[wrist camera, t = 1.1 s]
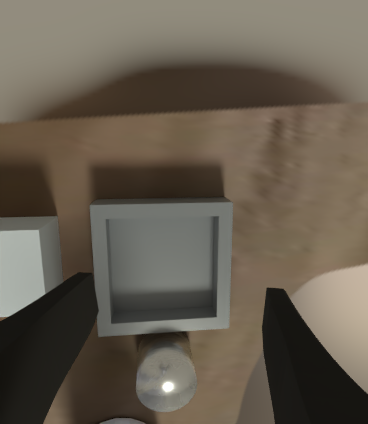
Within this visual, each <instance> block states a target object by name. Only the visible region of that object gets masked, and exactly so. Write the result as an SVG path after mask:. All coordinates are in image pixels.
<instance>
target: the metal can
mask: <svg viewBox="0 0 368 424" xmlns="http://www.w3.org/2000/svg"><path fill="white" fill-rule="evenodd" d="M196 388H197V378H196V373H195V368H194V364H193V359H192V354H191V349H190V344H189V341H188V339H187V337H186V335H185V334H184V333H183V332H182V331H179V332H164V333H149V334H145V335H144V336H143V338H142V339H141V341H140V343H139V347H138V360H137V377H136V393H137V396H138V398H139V400H140V401H141V402H142V404H143V405H145V406H146V407H147V408H149V409H151V410H154V411H158V412H169V411H174V410H177V409H179V408H181V407H183V406H184V405H186V404H187V403H188V402H189V401H190V400H191V399H192V397H193V396H194V394H195V392H196Z"/></svg>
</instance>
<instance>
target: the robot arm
mask: <svg viewBox="0 0 368 424" xmlns="http://www.w3.org/2000/svg"><path fill="white" fill-rule="evenodd" d="M98 312H99V308H98V303H97V297H96V292H95V286H94V280H93V275H92V273H82V272H79V273H77V274H75V275H73V276H72V277H70V278H69V279H67V280H66V281H64V282H63V283H61V284H60V285H58V286H57V287H55V288H54V289H52V290H51V291H49V292H48V293H46V294H45V295H43V296H42V297H40V298H38V299H37V300H35V301H34V302H32V303H31V304H29V305H27V306H26V307H24V308H22V309H21V310H19V311H17V312H16V313H14V314H12V315H11V316H9V317H7V318H5V319H4V320H2V321H0V424H43V422H44V420H45V418H46V416H47V413H48V411H49V409H50V407H51V404H52V402H53V400H54V398H55V395H56V393H57V391H58V390H59V388H60V386H61V384H62V382H63V380H64V378H65V377H66V375H67V373H68V371H69V370H70V368H71V366H72V364H73V363H74V361H75V359H76V357H77V356H78V354H79V352H80V350H81V348H82V347H83V345H84V343H85V341H86V339H87V338H88V336H89V334H90V332H91V329H92V327H93V325H94V322H95V320H96V317H97V315H98ZM262 333H263V351H264V358H265V364H266V370H267V376H268V382H269V388H270V394H271V400H272V406H273V412H274V419H275V424H368V394H367V393H366V392H364V390H363V389H362V388H361V387H360V386H358V385H357V383H356V382H354V380H353V379H352V378H350V376H349V375H348V374H347V373H346V372H345V371H344V370H343V369H342V368H341V367H340V366H339V364H338V363H337V362H336V361H335V360H334V359H333V358H332V356H331V355H330V354H329V353H328V352H327V350H326V349H325V348H324V347H323V345H322V344H321V343H320V342H319V340H318V339H317V338H316V337H315V335H314V334H313V333H312V331H311V330H310V328H309V327H308V326H307V324H306V323H305V322H304V320H303V319H302V318H301V316H300V314H299V313H298V311H297V310H296V308H295V306H294V305H293V303H292V302H291V300H290V298H289V297H288V295H287V293H286V291H285V290H284V289H279V288H267V290H266V299H265V307H264V316H263V325H262Z"/></svg>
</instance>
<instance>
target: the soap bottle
mask: <svg viewBox="0 0 368 424" xmlns="http://www.w3.org/2000/svg"><path fill="white" fill-rule="evenodd" d="M100 424H145V423H144V422H141V421H138V420H135V419H132V418H114V419H111V420H108V421H104V422H101V423H100Z"/></svg>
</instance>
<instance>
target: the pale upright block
mask: <svg viewBox="0 0 368 424" xmlns="http://www.w3.org/2000/svg"><path fill="white" fill-rule="evenodd" d="M61 283H63V271H62V260H61V248H60V237H59V225H58V216H45V217H3V218H0V317H9V316H11V315H12V314H14V313H16V312H17V311H19V310H21V309H22V308H24V307H26V306H27V305H29V304H31V303H32V302H34V301H35V300H37V299H38V298H40V297H42V296H43V295H45V294H46V293H48V292H49V291H51V290H52V289H54V288H55V287H57V286H58V285H60V284H61Z"/></svg>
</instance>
